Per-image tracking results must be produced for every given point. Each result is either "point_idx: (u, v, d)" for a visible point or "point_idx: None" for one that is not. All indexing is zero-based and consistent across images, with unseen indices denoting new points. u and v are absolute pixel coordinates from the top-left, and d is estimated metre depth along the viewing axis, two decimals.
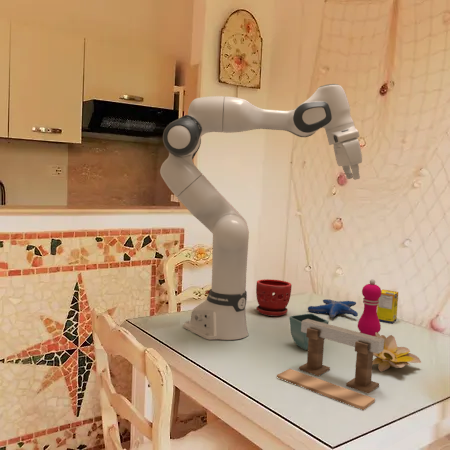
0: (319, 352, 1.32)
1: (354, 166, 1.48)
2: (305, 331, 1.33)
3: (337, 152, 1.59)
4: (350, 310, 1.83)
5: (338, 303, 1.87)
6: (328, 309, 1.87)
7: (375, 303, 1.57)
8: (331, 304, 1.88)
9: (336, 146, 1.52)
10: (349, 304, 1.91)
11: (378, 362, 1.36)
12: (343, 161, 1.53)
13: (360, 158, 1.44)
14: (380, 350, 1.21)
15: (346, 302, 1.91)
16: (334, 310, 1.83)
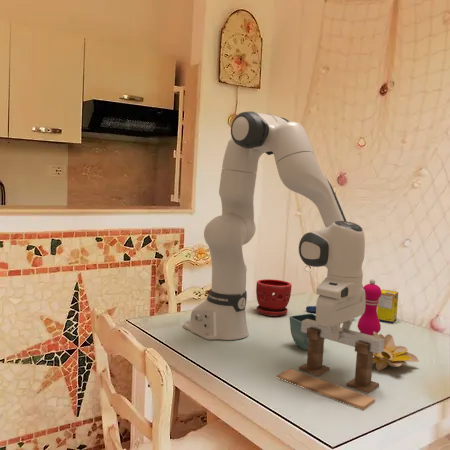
0: (319, 352, 1.32)
1: None
2: (305, 331, 1.33)
3: None
4: None
5: None
6: None
7: (375, 303, 1.57)
8: None
9: None
10: None
11: (376, 361, 1.36)
12: None
13: (326, 324, 1.19)
14: (380, 350, 1.21)
15: None
16: None
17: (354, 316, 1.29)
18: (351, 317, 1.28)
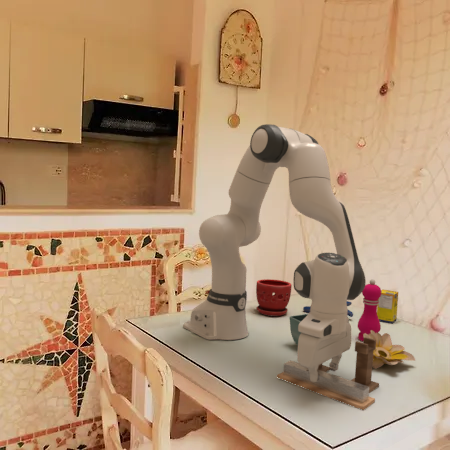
0: None
1: None
2: (287, 374, 1.27)
3: None
4: None
5: None
6: None
7: (375, 303, 1.57)
8: None
9: None
10: None
11: None
12: None
13: (308, 364, 1.13)
14: (365, 399, 1.14)
15: None
16: None
17: (339, 353, 1.23)
18: (336, 354, 1.21)
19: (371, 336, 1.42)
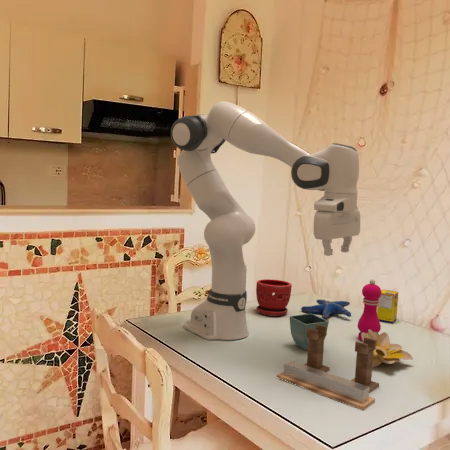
0: (319, 352, 1.32)
1: (325, 241, 1.31)
2: (287, 374, 1.27)
3: None
4: (343, 310, 1.82)
5: (331, 303, 1.87)
6: (321, 309, 1.87)
7: (375, 303, 1.57)
8: (324, 304, 1.87)
9: None
10: (343, 304, 1.90)
11: None
12: None
13: (323, 235, 1.28)
14: (365, 399, 1.14)
15: (340, 302, 1.90)
16: (327, 310, 1.83)
17: (349, 234, 1.37)
18: (347, 234, 1.36)
19: (369, 335, 1.43)
